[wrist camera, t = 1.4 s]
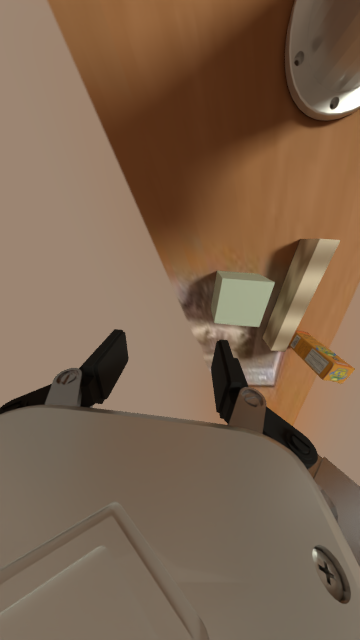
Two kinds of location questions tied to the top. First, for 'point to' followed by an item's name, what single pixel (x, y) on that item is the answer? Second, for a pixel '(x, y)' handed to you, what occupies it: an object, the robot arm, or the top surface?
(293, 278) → the birch board
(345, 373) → the supplement box
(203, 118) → the top surface
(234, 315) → the green block
